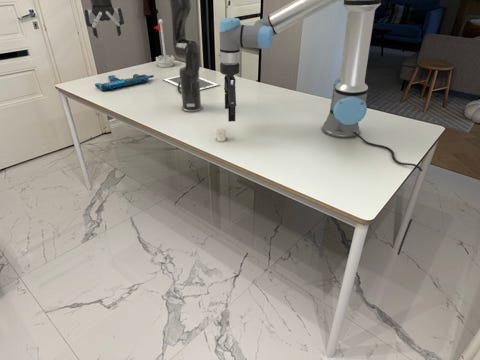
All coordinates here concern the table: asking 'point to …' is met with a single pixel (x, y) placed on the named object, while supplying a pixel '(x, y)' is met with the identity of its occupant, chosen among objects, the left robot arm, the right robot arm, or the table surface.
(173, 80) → the tablet
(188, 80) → the left robot arm
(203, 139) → the table surface
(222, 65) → the right robot arm
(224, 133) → the can
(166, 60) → the flag stand
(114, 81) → the submachine gun
